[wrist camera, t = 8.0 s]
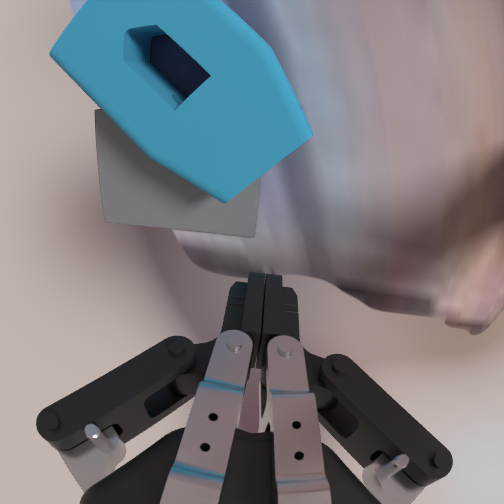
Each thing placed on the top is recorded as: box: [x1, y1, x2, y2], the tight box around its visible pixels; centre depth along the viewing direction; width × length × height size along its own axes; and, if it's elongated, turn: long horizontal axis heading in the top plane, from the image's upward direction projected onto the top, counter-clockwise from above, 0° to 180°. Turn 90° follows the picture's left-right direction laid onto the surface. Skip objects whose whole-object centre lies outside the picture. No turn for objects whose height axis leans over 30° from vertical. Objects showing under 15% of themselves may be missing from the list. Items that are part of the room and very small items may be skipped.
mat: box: [95, 109, 261, 237], centre depth 26 cm, size 16×12×1 cm
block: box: [50, 0, 313, 204], centre depth 19 cm, size 12×5×20 cm
